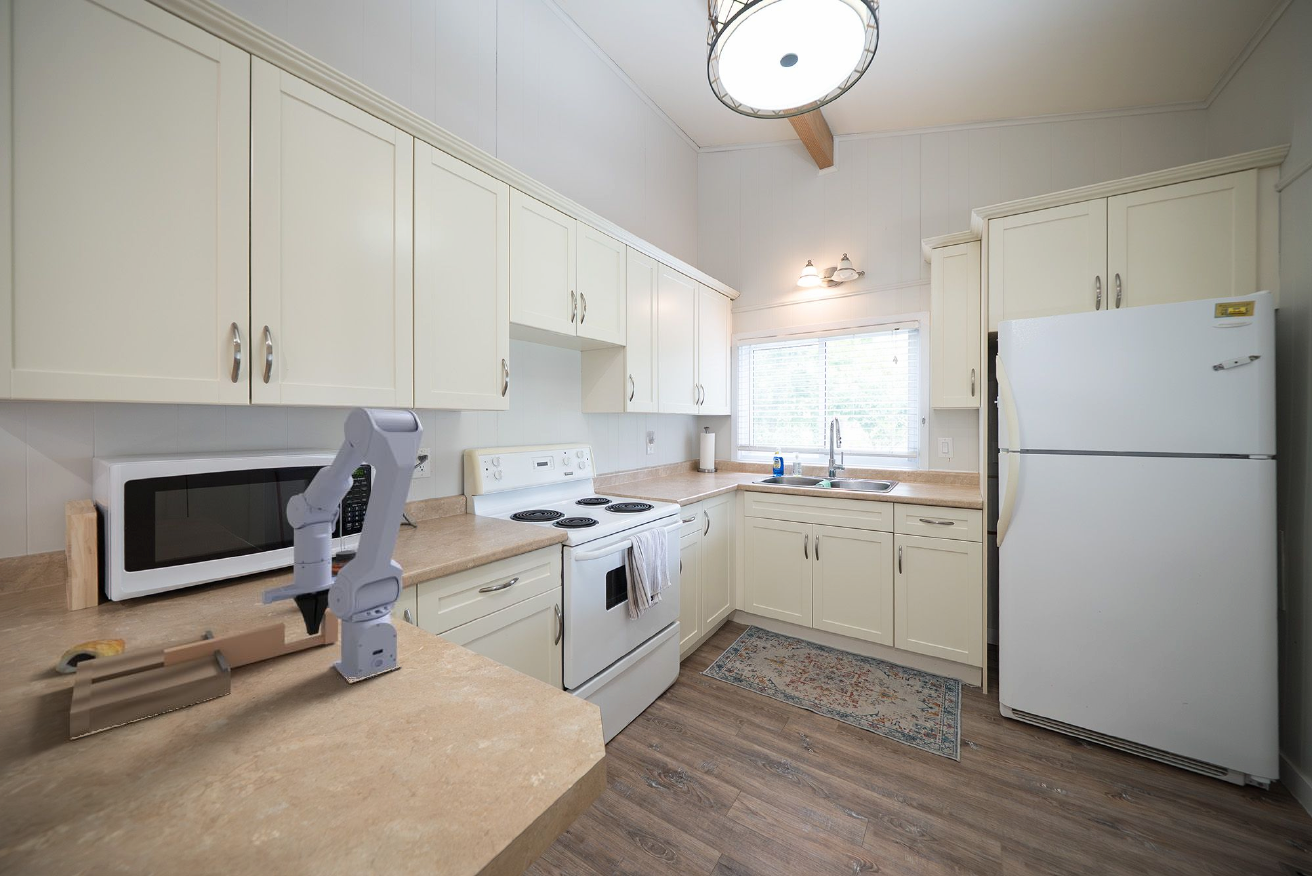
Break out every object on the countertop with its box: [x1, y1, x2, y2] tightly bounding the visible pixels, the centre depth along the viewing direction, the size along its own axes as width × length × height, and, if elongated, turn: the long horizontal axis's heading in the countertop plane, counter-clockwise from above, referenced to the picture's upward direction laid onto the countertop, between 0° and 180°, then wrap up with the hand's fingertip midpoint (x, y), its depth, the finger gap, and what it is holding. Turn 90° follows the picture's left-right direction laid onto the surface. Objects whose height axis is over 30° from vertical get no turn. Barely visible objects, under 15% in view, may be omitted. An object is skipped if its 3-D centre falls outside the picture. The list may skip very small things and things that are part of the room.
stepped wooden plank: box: [164, 608, 339, 669], centre depth 84 cm, size 3×23×6 cm, turn 138°
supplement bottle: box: [331, 549, 357, 577], centre depth 116 cm, size 6×6×11 cm
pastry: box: [54, 638, 126, 674], centre depth 85 cm, size 9×7×4 cm
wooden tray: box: [69, 629, 232, 739], centre depth 75 cm, size 20×16×4 cm
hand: (312, 632), depth 90 cm, fingers closed
